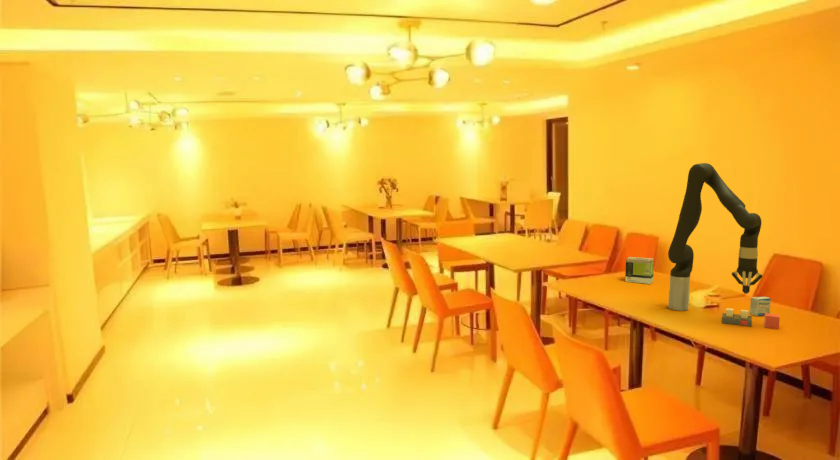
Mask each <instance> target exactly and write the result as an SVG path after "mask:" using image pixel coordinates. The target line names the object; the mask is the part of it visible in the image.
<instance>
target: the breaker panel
mask: <svg viewBox="0 0 840 460" xmlns="http://www.w3.org/2000/svg"><path fill="white" fill-rule="evenodd" d="M721 314H722V315H721V316H722V317H721V324H725V325H733V326H743V327H752V322H753V319H752V315H748V319H746V318H740V315H741V314H738V313H733V317H728V316H726V312H722V313H721Z"/></svg>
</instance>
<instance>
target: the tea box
mask: <svg viewBox="0 0 840 460" xmlns="http://www.w3.org/2000/svg"><path fill="white" fill-rule="evenodd" d="M654 264H655V259H654V258H653V257H637V256H636V257H635V256H628V257H627V258H625V275H624V276H625V277H624V278H625V282H628V283H636V284H647V285H648V284H649V285H651V284H652V283H653V282H654V270H655V269H654Z"/></svg>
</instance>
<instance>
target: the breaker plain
mask: <svg viewBox="0 0 840 460" xmlns="http://www.w3.org/2000/svg"><path fill="white" fill-rule="evenodd" d="M725 313H726V316H728V317H733V314H734V308H728V307H727V308H726V309H725Z"/></svg>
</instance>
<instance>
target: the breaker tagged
mask: <svg viewBox="0 0 840 460" xmlns="http://www.w3.org/2000/svg"><path fill="white" fill-rule="evenodd" d="M739 315H740V318H746V319H748V316H749V310H747V309H740V314H739Z"/></svg>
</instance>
